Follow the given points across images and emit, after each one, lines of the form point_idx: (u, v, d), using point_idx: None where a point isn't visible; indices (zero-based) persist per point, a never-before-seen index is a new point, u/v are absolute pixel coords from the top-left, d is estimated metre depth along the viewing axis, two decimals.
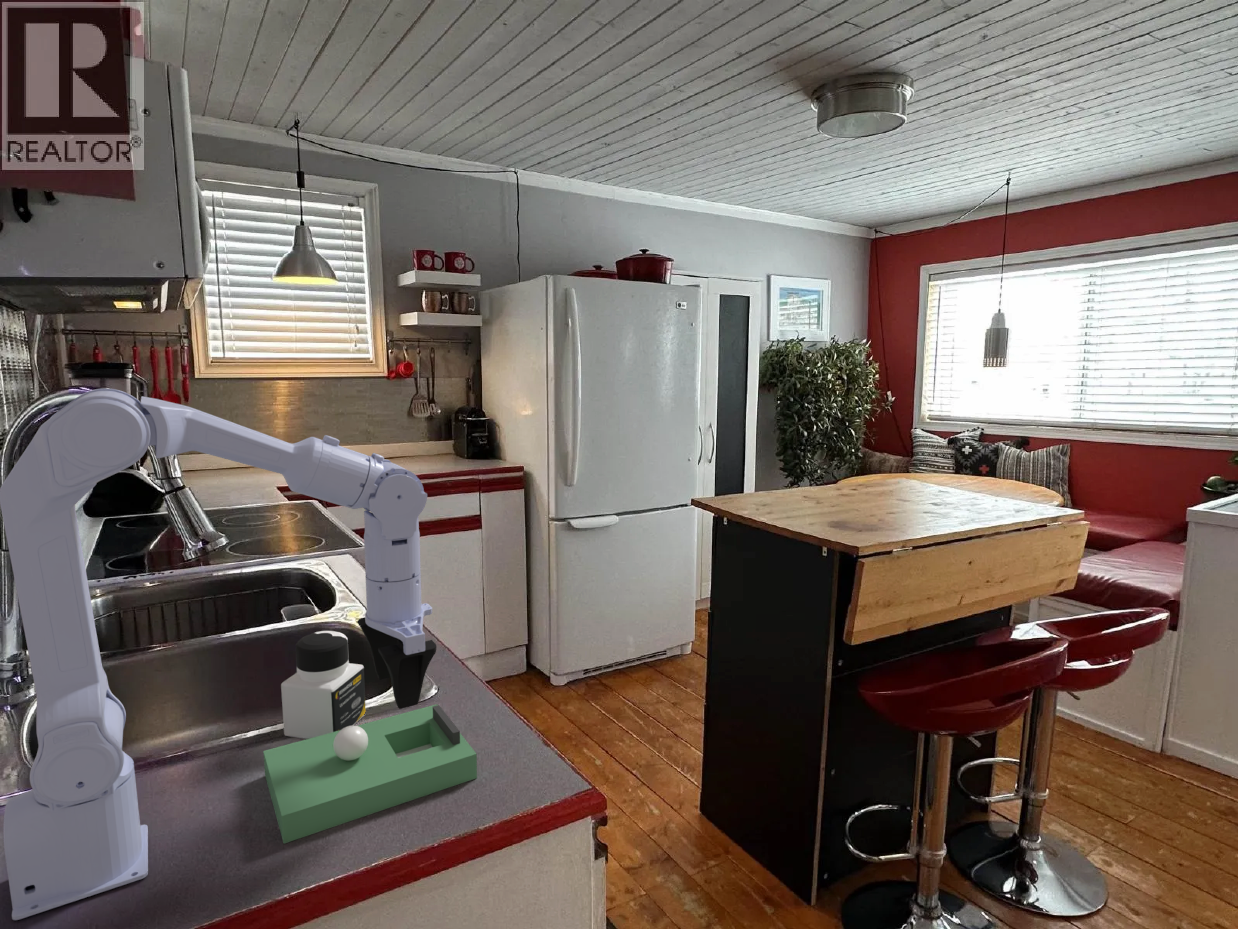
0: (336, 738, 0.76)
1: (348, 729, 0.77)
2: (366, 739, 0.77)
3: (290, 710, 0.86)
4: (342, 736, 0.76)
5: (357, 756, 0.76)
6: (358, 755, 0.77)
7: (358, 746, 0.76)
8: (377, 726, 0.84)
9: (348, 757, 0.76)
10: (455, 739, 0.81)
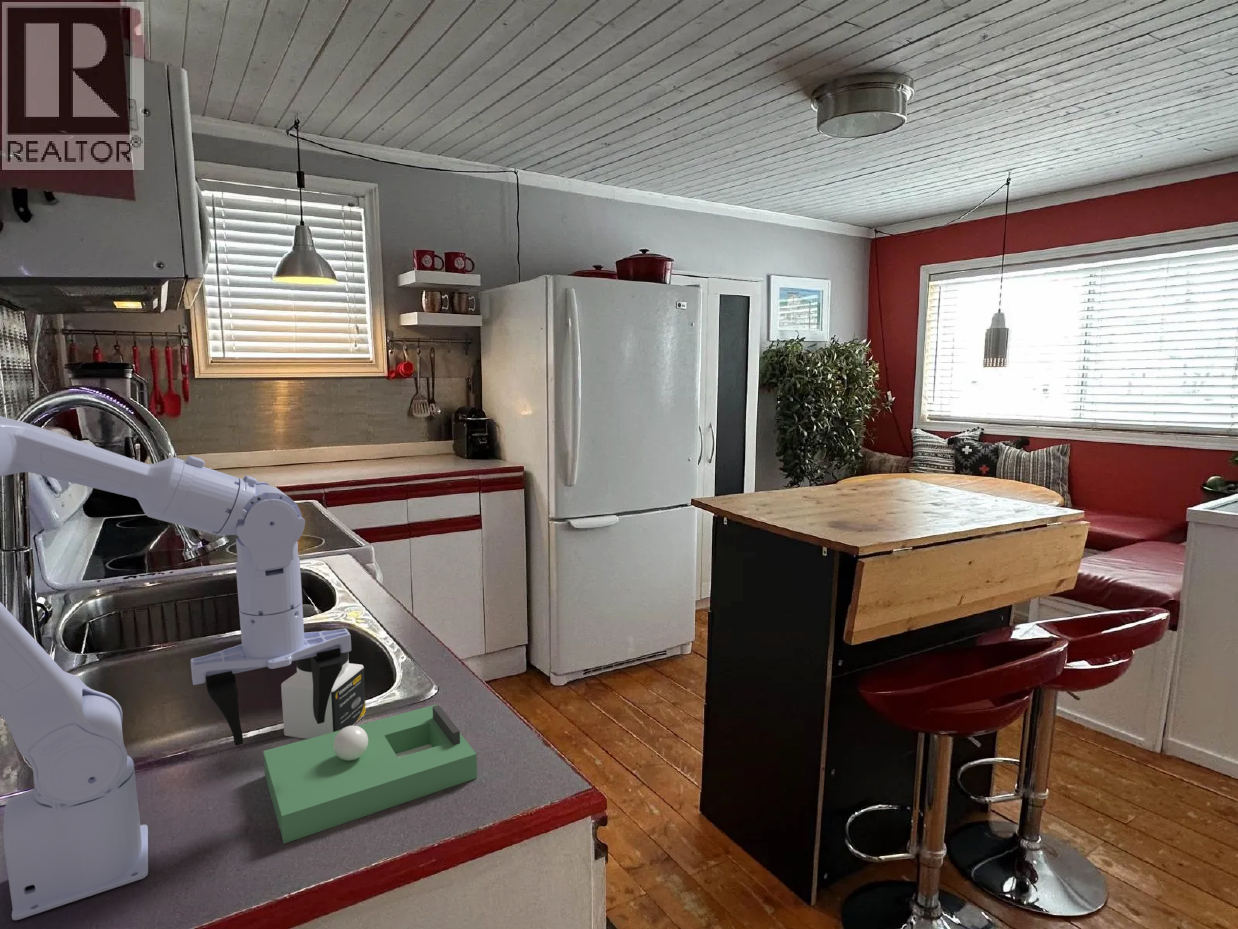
0: (336, 738, 0.76)
1: (348, 729, 0.77)
2: (366, 739, 0.77)
3: (290, 710, 0.86)
4: (342, 736, 0.76)
5: (357, 756, 0.76)
6: (358, 755, 0.77)
7: (358, 746, 0.76)
8: (377, 726, 0.84)
9: (348, 757, 0.76)
10: (455, 739, 0.81)
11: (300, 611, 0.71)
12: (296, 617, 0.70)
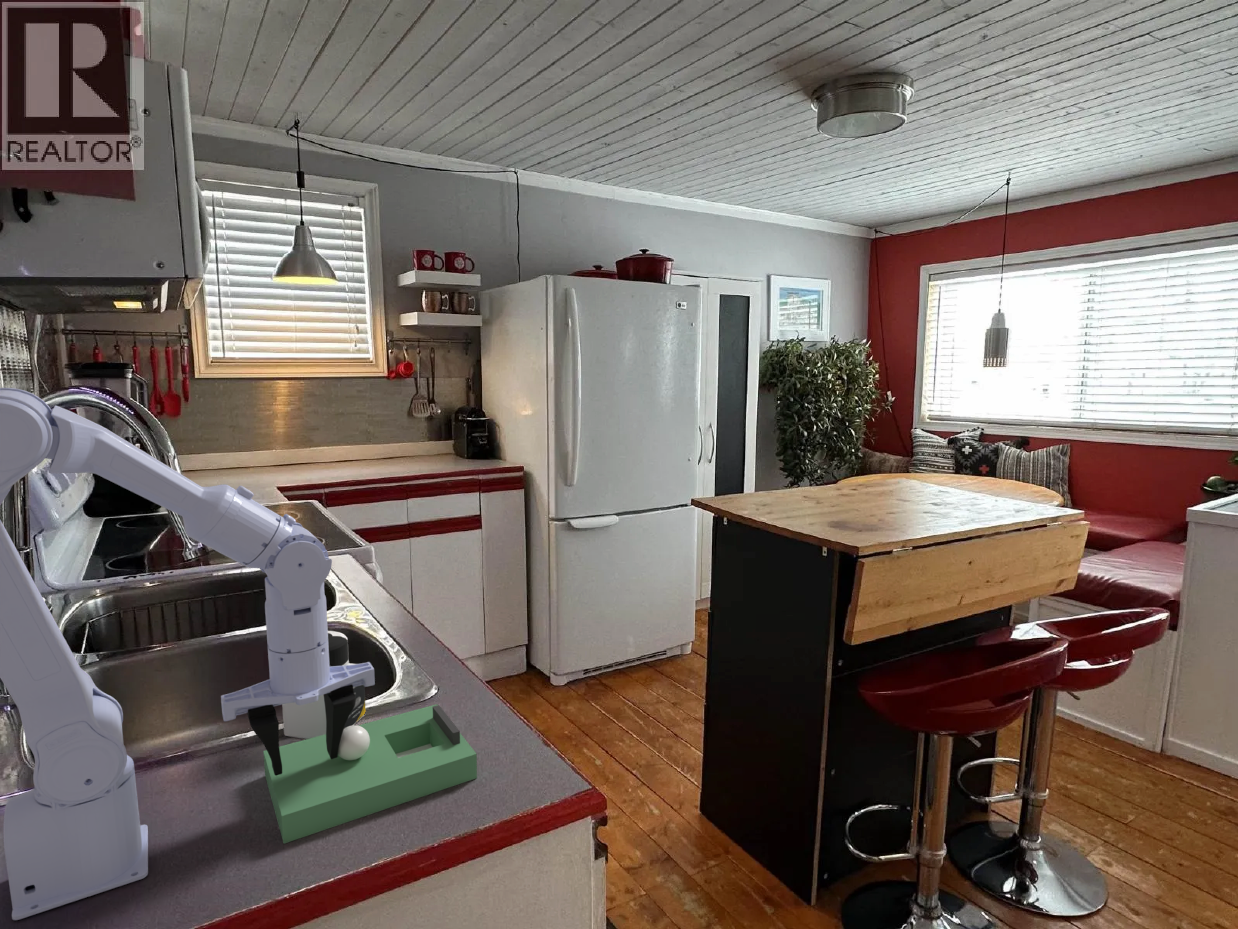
0: None
1: (351, 728, 0.77)
2: (368, 740, 0.78)
3: (290, 710, 0.86)
4: (345, 735, 0.76)
5: (358, 756, 0.77)
6: (359, 755, 0.77)
7: (360, 746, 0.76)
8: (377, 726, 0.84)
9: (349, 756, 0.76)
10: (455, 739, 0.81)
11: (326, 648, 0.73)
12: (323, 654, 0.72)
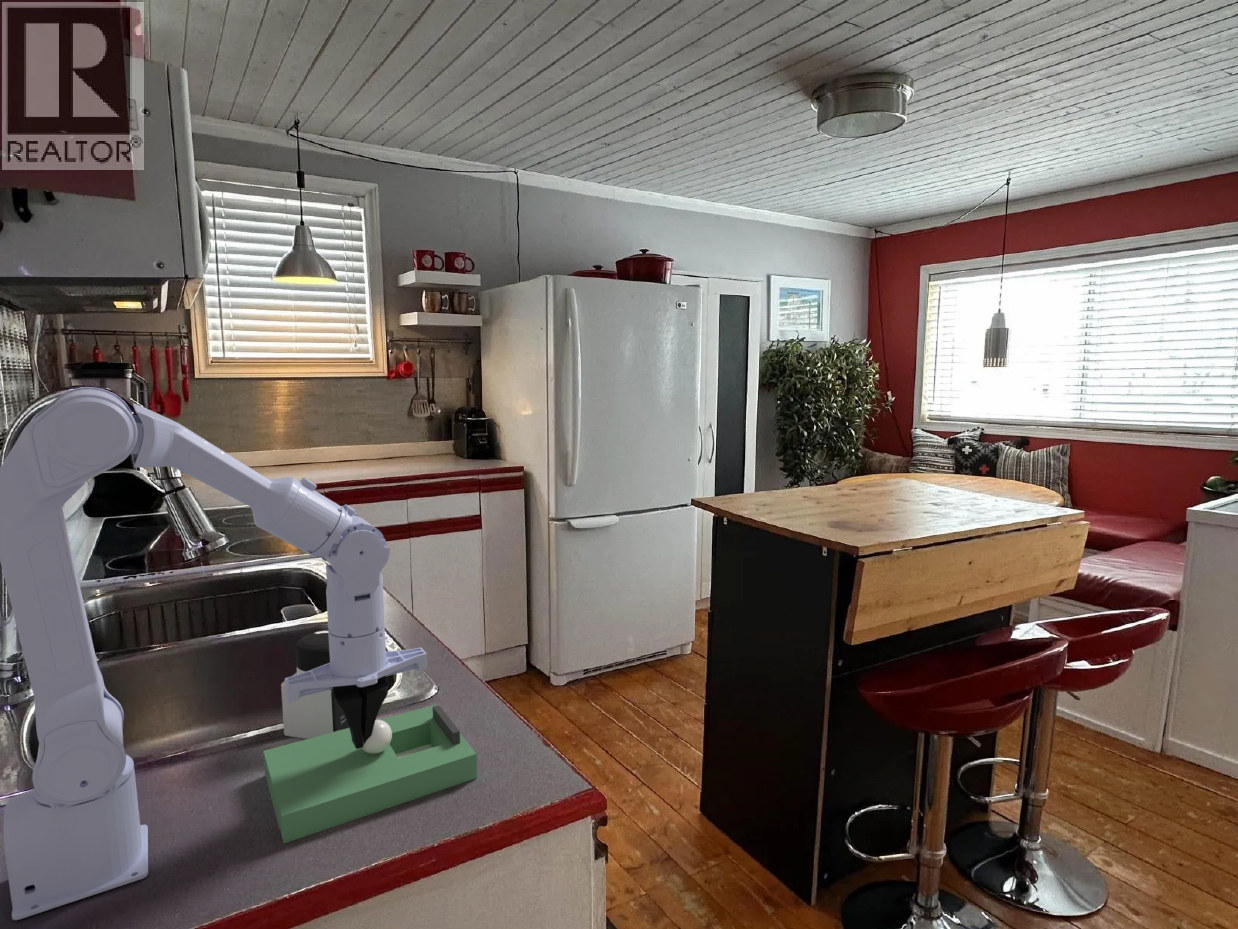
0: (382, 721, 0.79)
1: (390, 729, 0.80)
2: (383, 750, 0.79)
3: (290, 710, 0.86)
4: (387, 726, 0.79)
5: (370, 748, 0.77)
6: (371, 749, 0.77)
7: (383, 746, 0.78)
8: None
9: (371, 740, 0.77)
10: (455, 739, 0.81)
11: (383, 633, 0.76)
12: (381, 639, 0.75)
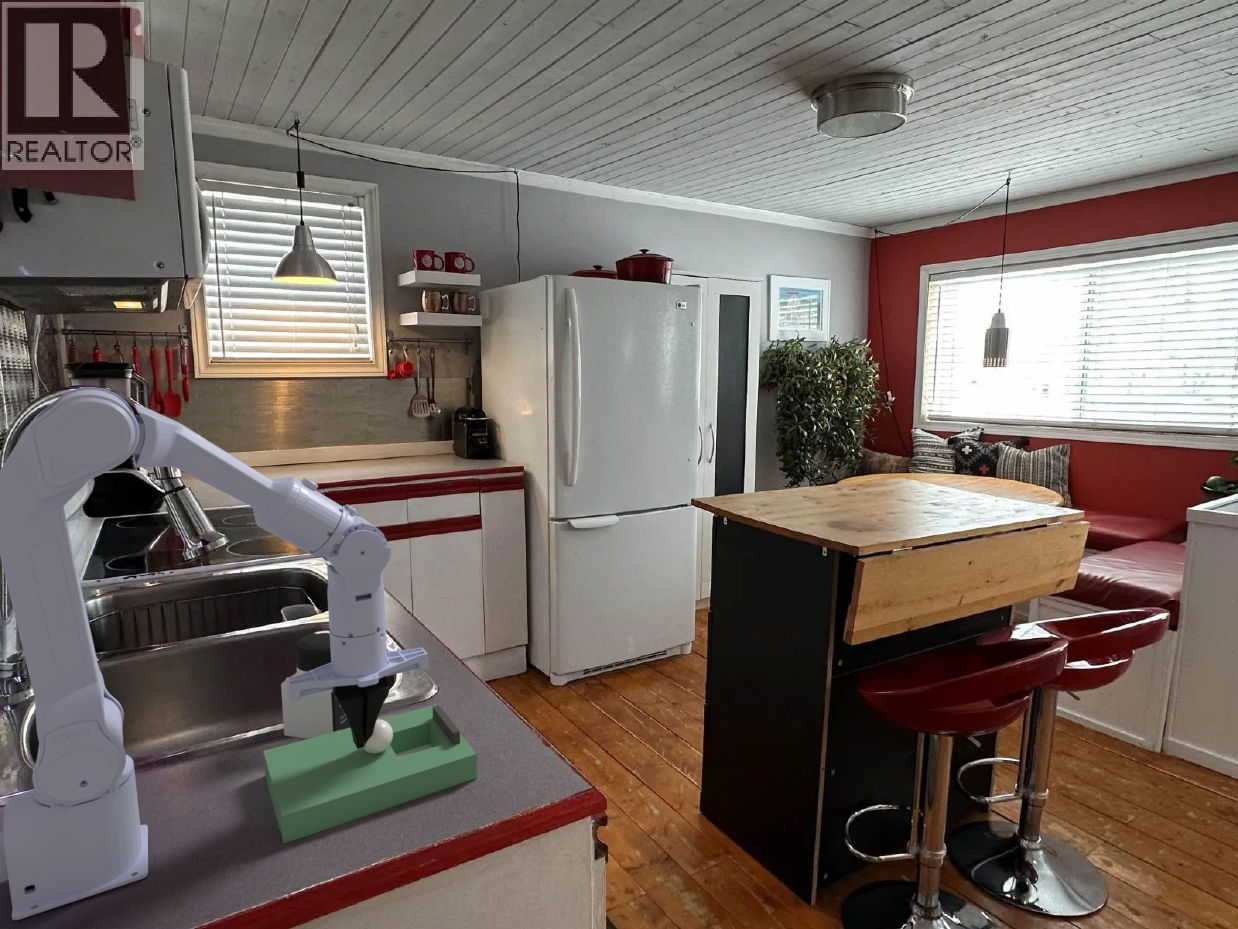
0: (384, 721, 0.79)
1: (392, 730, 0.80)
2: (383, 750, 0.79)
3: (290, 710, 0.86)
4: (389, 727, 0.79)
5: (371, 748, 0.77)
6: (372, 748, 0.77)
7: (383, 746, 0.78)
8: None
9: (372, 739, 0.77)
10: (455, 739, 0.81)
11: (384, 633, 0.76)
12: (382, 639, 0.76)
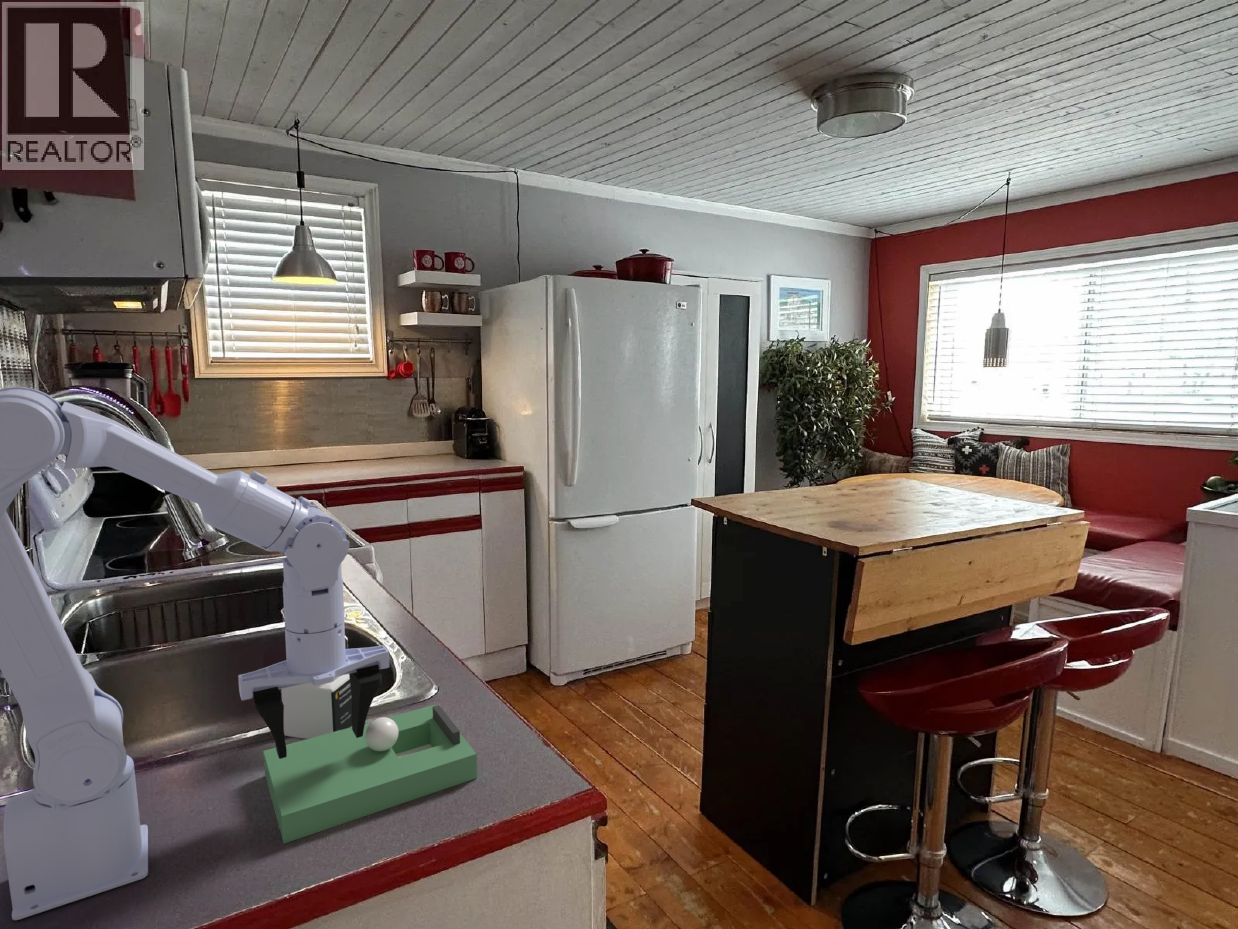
0: None
1: None
2: (384, 750, 0.79)
3: (290, 710, 0.86)
4: (397, 728, 0.80)
5: (376, 743, 0.77)
6: (377, 744, 0.78)
7: (388, 745, 0.78)
8: None
9: (380, 735, 0.78)
10: (455, 739, 0.81)
11: (343, 629, 0.74)
12: (339, 635, 0.73)
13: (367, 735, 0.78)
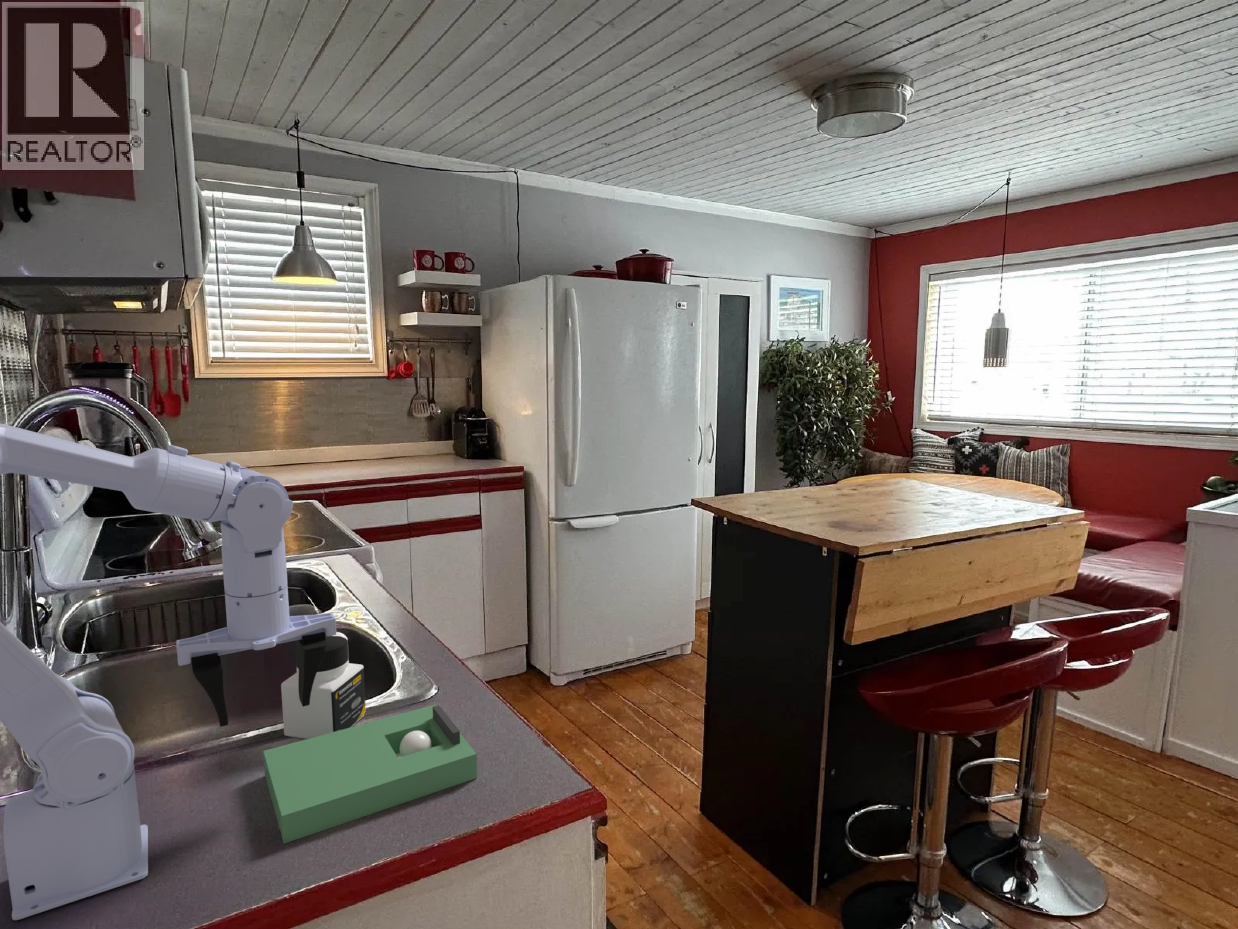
0: None
1: None
2: (409, 743, 0.80)
3: (290, 710, 0.86)
4: None
5: (426, 746, 0.81)
6: (425, 746, 0.81)
7: None
8: (377, 726, 0.84)
9: None
10: (455, 739, 0.81)
11: (285, 594, 0.72)
12: (281, 600, 0.71)
13: (430, 739, 0.82)
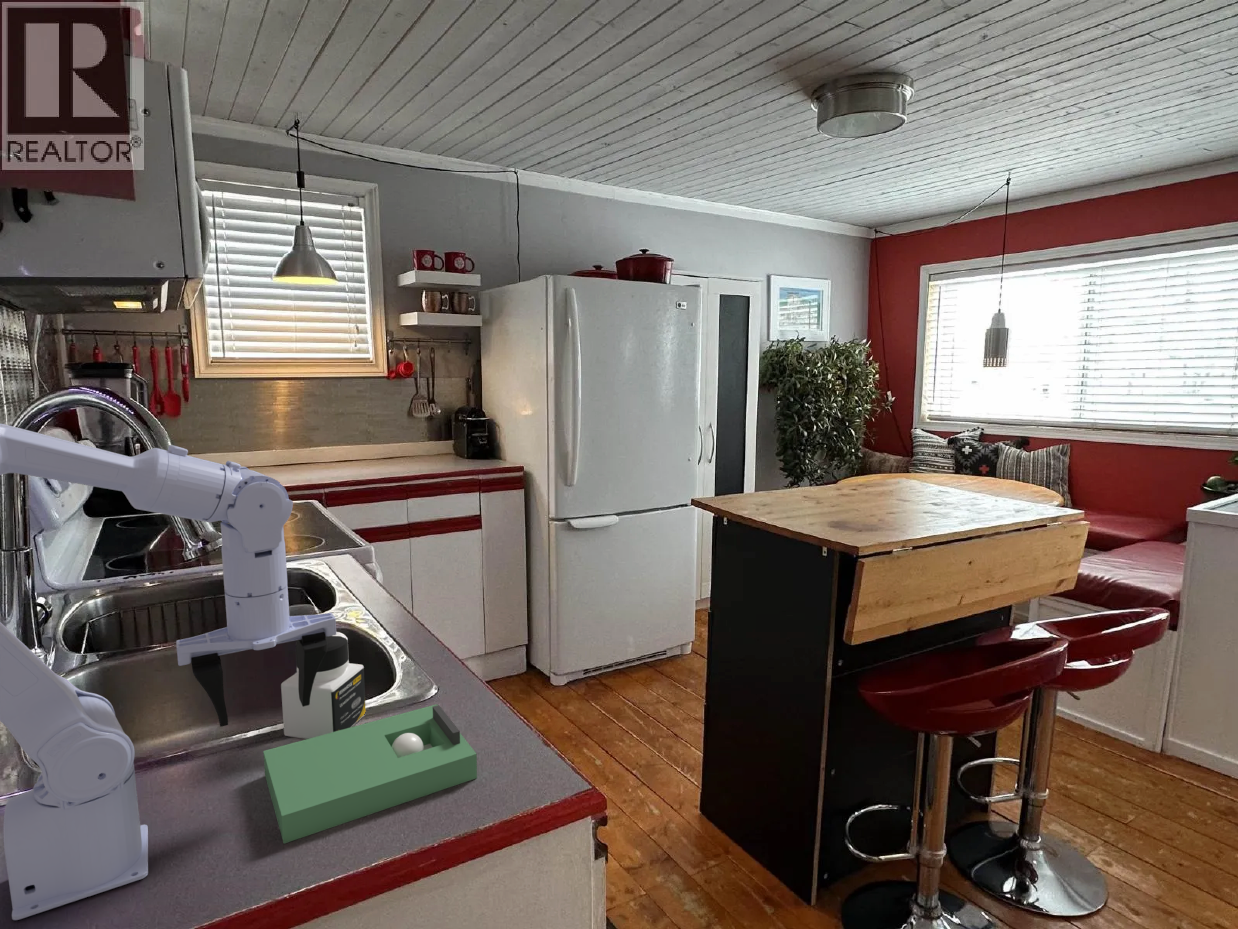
0: None
1: None
2: (397, 753, 0.80)
3: (290, 710, 0.86)
4: None
5: (413, 747, 0.80)
6: (412, 748, 0.80)
7: None
8: (377, 726, 0.84)
9: None
10: (455, 739, 0.81)
11: (285, 594, 0.72)
12: (281, 600, 0.71)
13: (417, 737, 0.81)
